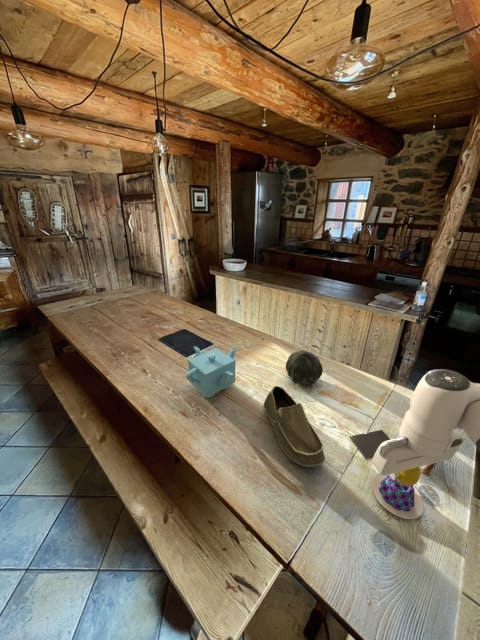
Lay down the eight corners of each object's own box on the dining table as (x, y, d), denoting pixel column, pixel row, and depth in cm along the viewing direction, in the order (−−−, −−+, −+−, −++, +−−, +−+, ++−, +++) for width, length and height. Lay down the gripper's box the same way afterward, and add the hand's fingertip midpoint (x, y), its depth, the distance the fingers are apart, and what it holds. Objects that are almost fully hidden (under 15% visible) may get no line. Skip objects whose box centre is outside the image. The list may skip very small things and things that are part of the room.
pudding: (368, 468, 76) (372, 456, 74) (415, 480, 73) (421, 468, 71) (374, 511, 66) (379, 498, 64) (429, 528, 63) (436, 515, 61)
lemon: (390, 487, 66) (399, 466, 62) (388, 468, 71) (396, 447, 67) (416, 496, 64) (426, 475, 61) (412, 476, 69) (422, 455, 65)
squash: (314, 355, 120) (298, 336, 112) (334, 375, 107) (318, 357, 99) (291, 375, 121) (273, 359, 113) (308, 398, 109) (289, 382, 100)
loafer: (300, 480, 73) (304, 454, 68) (253, 406, 98) (254, 384, 93) (332, 465, 77) (339, 440, 72) (279, 398, 102) (282, 376, 97)
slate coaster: (381, 430, 89) (381, 429, 88) (399, 451, 82) (400, 450, 81) (349, 437, 86) (350, 436, 86) (365, 459, 79) (366, 457, 79)
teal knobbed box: (185, 400, 100) (182, 368, 94) (195, 370, 117) (193, 341, 110) (234, 403, 99) (235, 371, 93) (238, 372, 116) (238, 343, 110)
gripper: (394, 455, 55) (378, 496, 61) (472, 437, 59) (449, 477, 65) (373, 431, 60) (360, 471, 66) (446, 416, 65) (428, 455, 71)
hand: (405, 474), depth 66 cm, fingers closed on lemon, 5 cm apart
